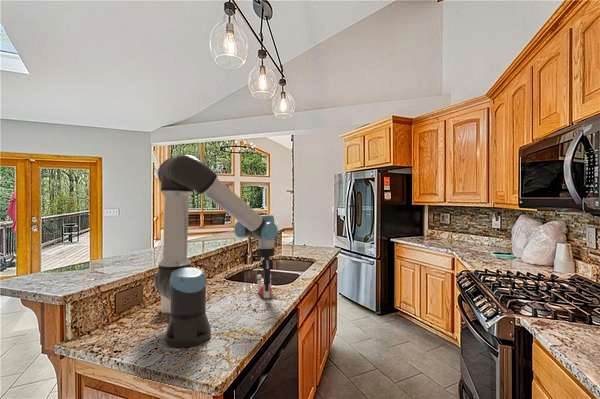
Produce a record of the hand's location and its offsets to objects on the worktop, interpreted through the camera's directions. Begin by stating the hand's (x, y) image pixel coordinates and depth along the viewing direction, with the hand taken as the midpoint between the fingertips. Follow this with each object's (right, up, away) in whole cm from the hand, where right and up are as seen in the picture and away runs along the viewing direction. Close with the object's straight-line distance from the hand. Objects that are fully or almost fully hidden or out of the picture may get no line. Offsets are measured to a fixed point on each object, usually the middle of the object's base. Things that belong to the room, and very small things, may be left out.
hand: (266, 297), depth 146 cm
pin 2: (0, -2, +15) cm, 15 cm away
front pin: (-2, -1, +10) cm, 11 cm away
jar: (-41, -2, -11) cm, 42 cm away
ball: (-1, +1, +7) cm, 7 cm away
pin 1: (-5, -2, +14) cm, 15 cm away
